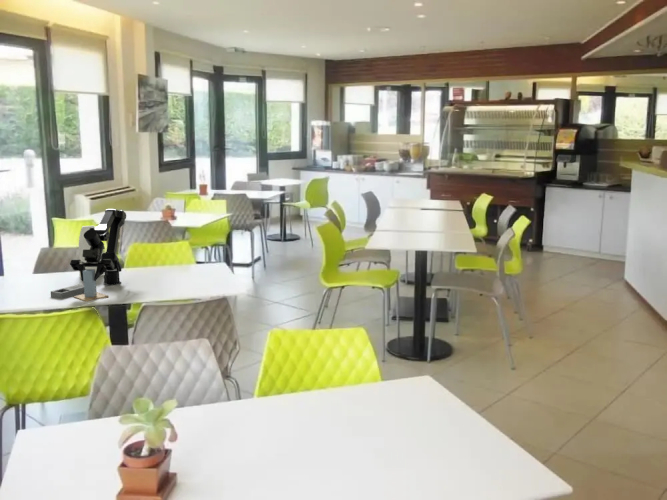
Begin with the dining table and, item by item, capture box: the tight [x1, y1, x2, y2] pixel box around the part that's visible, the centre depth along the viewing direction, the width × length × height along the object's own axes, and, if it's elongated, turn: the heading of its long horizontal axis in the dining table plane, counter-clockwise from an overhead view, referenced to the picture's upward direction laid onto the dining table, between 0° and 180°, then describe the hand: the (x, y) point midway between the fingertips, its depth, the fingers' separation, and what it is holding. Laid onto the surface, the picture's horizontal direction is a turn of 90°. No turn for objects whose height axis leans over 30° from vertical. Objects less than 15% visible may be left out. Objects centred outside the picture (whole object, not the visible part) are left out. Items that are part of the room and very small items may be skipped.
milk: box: [78, 225, 105, 279], centre depth 337 cm, size 12×12×26 cm
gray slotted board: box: [50, 282, 84, 300], centre depth 298 cm, size 18×7×4 cm, turn 151°
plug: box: [82, 269, 97, 297], centre depth 290 cm, size 4×4×12 cm
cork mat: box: [72, 292, 109, 303], centre depth 292 cm, size 11×11×1 cm
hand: (88, 280), depth 289 cm, fingers open, 5 cm apart
